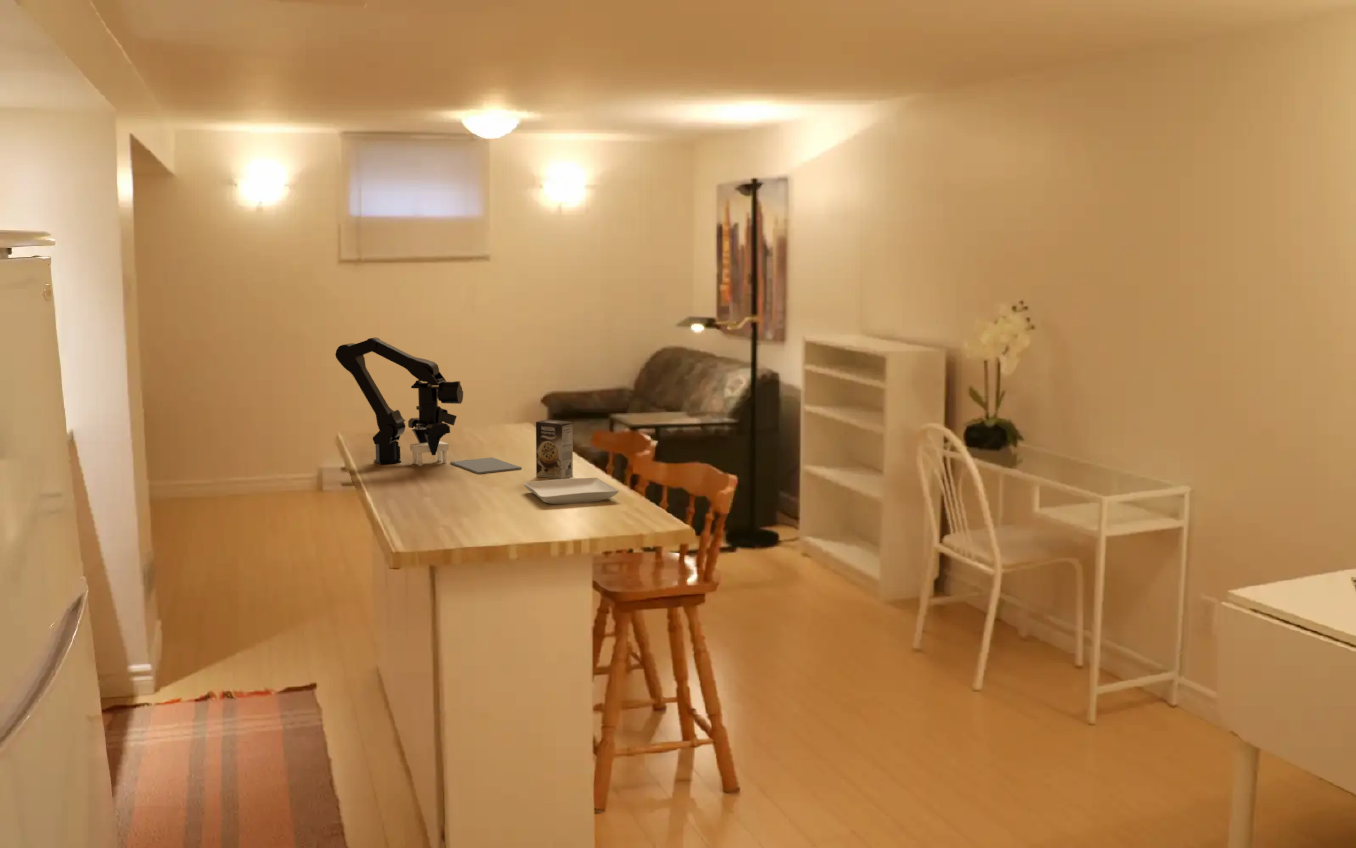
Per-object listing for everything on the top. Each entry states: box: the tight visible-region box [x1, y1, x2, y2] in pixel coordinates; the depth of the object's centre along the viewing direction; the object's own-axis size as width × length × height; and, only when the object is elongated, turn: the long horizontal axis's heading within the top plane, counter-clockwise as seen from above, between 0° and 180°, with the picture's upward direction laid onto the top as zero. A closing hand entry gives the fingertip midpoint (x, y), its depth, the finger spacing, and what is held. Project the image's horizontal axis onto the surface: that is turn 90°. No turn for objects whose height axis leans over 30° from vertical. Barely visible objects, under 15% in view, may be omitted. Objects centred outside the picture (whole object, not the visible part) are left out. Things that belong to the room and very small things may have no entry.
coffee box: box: [535, 419, 574, 480], centre depth 345 cm, size 9×6×16 cm
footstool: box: [409, 440, 450, 467], centre depth 365 cm, size 10×6×6 cm, turn 125°
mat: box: [449, 457, 522, 475], centre depth 361 cm, size 14×20×1 cm
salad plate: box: [523, 477, 620, 505], centre depth 318 cm, size 21×21×3 cm
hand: (429, 453), depth 365 cm, fingers closed on footstool, 6 cm apart
